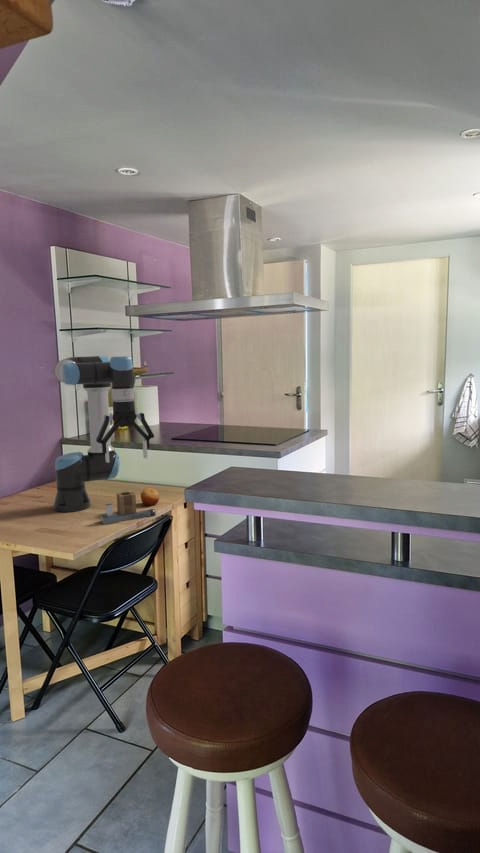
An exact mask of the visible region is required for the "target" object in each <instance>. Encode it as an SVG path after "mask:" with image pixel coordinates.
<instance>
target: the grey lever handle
mask: <svg viewBox="0 0 480 853" xmlns="http://www.w3.org/2000/svg"><path fill="white" fill-rule="evenodd" d="M113 510H114V509H113V503H106V504H105V514H100V522H101V524H103V525H104V526H105V525H111V524H116V523H120V522H123V521H130V520H136V519H142V518H148V517H149V518H150V517H155V516H156V515H157V514H156V512H157V511H156V509H153V508H150V509H144V510H138V511H137V510H136V512H131V513H124V514H119V513H117V512H114V511H113Z"/></svg>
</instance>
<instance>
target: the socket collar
mask: <svg viewBox="0 0 480 853" xmlns="http://www.w3.org/2000/svg"><path fill="white" fill-rule="evenodd" d="M116 508H117V511H116V512H117V514H124V513H131V512H137V498H136V493H134V492H133V491H132V490H131V491H130V490H128V491H122V492H116Z"/></svg>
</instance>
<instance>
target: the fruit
mask: <svg viewBox="0 0 480 853" xmlns="http://www.w3.org/2000/svg"><path fill="white" fill-rule="evenodd" d="M140 500H141V504H142V505H146V506H148V507H149V506H153V505H155V504H157V503H159V501H160V493H159V491H158V490H156V489H154V488H152V487H148V488H145V489H143V490H142V491H141V493H140Z"/></svg>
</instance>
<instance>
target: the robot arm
mask: <svg viewBox="0 0 480 853" xmlns="http://www.w3.org/2000/svg"><path fill="white" fill-rule="evenodd" d="M133 368H134V365H133V358H132V357H131V356H111V357H110V358H109V357H108V356H103V355H102V356H100V355H94V356H70V357H67V358H64V359H61V360H59V361H58V362H56V363H55V366H54V369H53V373H54V376H55V378H56V380H58V381H59V382H61V383H63V384H64V385H67V386H68V385H70V386H71V385H72V386H76V385H83V386H82V388H83V390H84V391H85V392H86V393H87V394H86V395H87V410H88V424H89V438H90V439H89V441H90V447H89V448H88V449H87V454H84V453H83V452H80V451H76V452H75V451H74V452H70V453H65V454H62V455H60V456H58V457H56V459H55V461H54V466H55V467H54V470H55V477H56V478H55V479H56V480H55V482H56V495H55V498H54V502H53V509H54V511H56V512H61V513H67V512H69V513H71V512H79V511H82V510H85V509H87V508H89V507H91V500H90V497H89V494H88V492H87V490H86V484H85V483H87V482H88V483H89V482H95V481H96V482H97V481H102V480H103V481H108V480H111V479H115V478H116V477H117V476H118V474H119V470H120V453H118V451H116V450H115V448H114V447H113V446H112V445H111V444H112V443H111V438H112V436H113V434H114V433H115V432H116V431H117V430H118V429H119V428H125V427H128V428H129V427H131V426H132V427H133V428H134V430H136V431H137V432H138V434H140V435H141V437H143V438H144V439H142V453H143V454H142V456H143V458H144V459H148V449H150V441H151V439H153V438H155V435H154V433H153V431H152V429H151V427H150V425H149V424H148V422H147V420H146V418H145V413H144V412H139V413H136V409H135V405H136V404H135V400H134V399H135V390H134V389H135V388H134V369H133ZM110 389H111V396H112V397H111V398H112V401H113V402H112V412H113V413H112V415H110V412H109V410H110V409H109V394H108V391H109V390H110ZM137 418H138V420H140V422H141V424H142V426H143V427H144V428H143V429H145V431H146V433H145V431H144V430H143V429H142V428H141V427H140V426H139V425H138V424H137V422H135V421H136V419H137ZM112 420H113V421H114V423H113V425H111V426H110V422H111V421H112ZM147 434H148V435H147Z"/></svg>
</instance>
